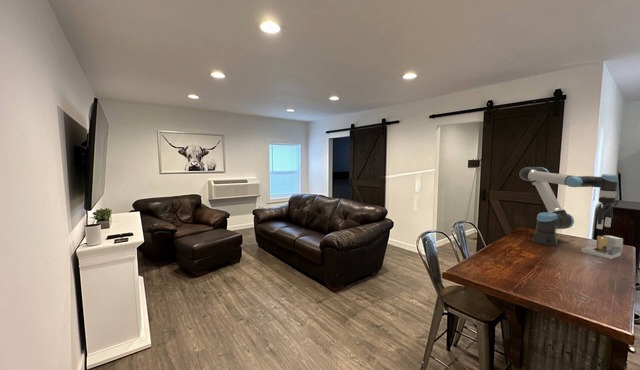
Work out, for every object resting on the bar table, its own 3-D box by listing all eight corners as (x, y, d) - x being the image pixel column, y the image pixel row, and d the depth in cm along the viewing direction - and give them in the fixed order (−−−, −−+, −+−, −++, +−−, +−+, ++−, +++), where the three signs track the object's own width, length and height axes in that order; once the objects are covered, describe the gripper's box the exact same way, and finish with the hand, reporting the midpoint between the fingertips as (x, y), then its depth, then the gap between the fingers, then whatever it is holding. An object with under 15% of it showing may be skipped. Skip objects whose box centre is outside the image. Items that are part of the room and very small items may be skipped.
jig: (581, 251, 184) (581, 244, 183) (590, 248, 190) (591, 241, 190) (611, 259, 170) (612, 251, 170) (620, 255, 177) (621, 247, 176)
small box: (622, 253, 181) (623, 238, 180) (613, 253, 181) (615, 238, 180) (609, 249, 189) (611, 235, 188) (601, 249, 189) (603, 235, 188)
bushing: (604, 255, 177) (606, 238, 176) (594, 253, 181) (595, 236, 180) (607, 254, 179) (609, 237, 178) (597, 252, 184) (599, 235, 182)
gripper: (607, 198, 168) (603, 231, 170) (622, 196, 178) (618, 227, 181) (591, 197, 174) (588, 228, 176) (606, 195, 185) (603, 224, 187)
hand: (603, 227), depth 178 cm, fingers open, 12 cm apart
